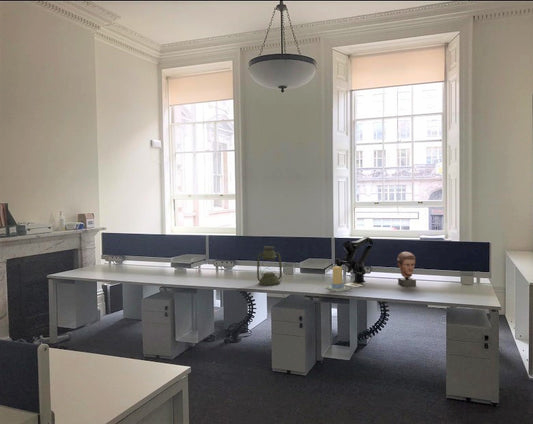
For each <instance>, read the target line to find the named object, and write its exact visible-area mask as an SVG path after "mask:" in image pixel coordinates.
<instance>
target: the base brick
mask: <svg viewBox="0 0 533 424" xmlns="http://www.w3.org/2000/svg"><path fill="white" fill-rule="evenodd" d="M344 284H345V283H344V282H342V284H339V285H338V284H333V282H332V283H331V286H332V288H337V289H339V288H344V287H345V285H344Z"/></svg>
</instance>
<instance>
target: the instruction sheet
mask: <svg viewBox="0 0 533 424" xmlns="http://www.w3.org/2000/svg"><path fill="white" fill-rule="evenodd" d="M343 284H344V286H347V287H353V288H359V287H362V286H364V285H363V284H359V283H356V282H355V283H354V282H349V283H343Z"/></svg>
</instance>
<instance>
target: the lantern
mask: <svg viewBox="0 0 533 424" xmlns="http://www.w3.org/2000/svg"><path fill="white" fill-rule="evenodd" d="M274 248H275V246H273V245H265V246H263V248H262V249H263V251H262V252H261V253H259V255H258V256H257V257H256V258H257V260H256V261H257V262H256V263H257V265H256V276H257V277H256V278H257V281H259V282H258V284H259V285H260V286H263V287H264V286H265V287H270V286H271V287H273V286H274V285H275V286H279V285H280V284H281V282H282V278H283V274H282V271H283V266H282V258H281V254H280V253H279V252H277V251H275V249H274ZM277 256H278V265H279V276H277V275H276V272H273V271H274V270H272V269H271V271H269V272H268V271H267V272H264V271H265V270H266V269H269V268H271V266H268V267H265V265H263V267H264V269H263V271H262V270H261V266H260V258H263V260H262V262H261V263H263V262H264V260H265V261H275V258H277ZM276 263H277V262H275V264H274V265H276ZM260 276H261V278H260Z"/></svg>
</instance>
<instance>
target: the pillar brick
mask: <svg viewBox="0 0 533 424" xmlns="http://www.w3.org/2000/svg"><path fill="white" fill-rule="evenodd" d="M332 283H333V284H338V285H339V284H342V283H343V266H341V267H340V266H337V265H335V266H333V267H332Z"/></svg>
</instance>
